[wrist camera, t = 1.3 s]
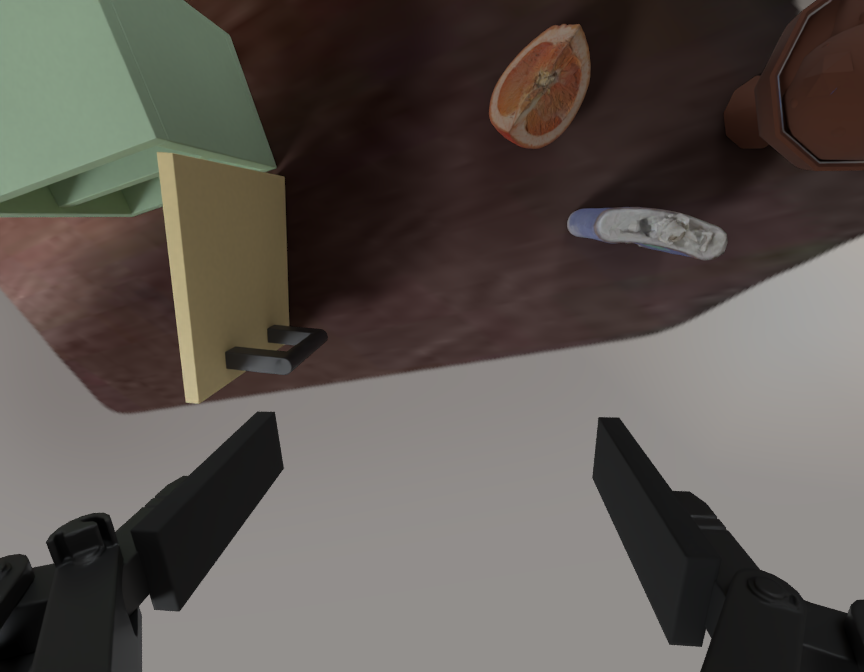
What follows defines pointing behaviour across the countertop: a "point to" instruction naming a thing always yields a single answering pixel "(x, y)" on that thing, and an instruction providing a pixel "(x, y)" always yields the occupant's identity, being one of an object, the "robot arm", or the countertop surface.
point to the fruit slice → (542, 87)
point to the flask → (650, 230)
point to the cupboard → (115, 104)
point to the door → (229, 273)
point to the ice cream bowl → (808, 92)
